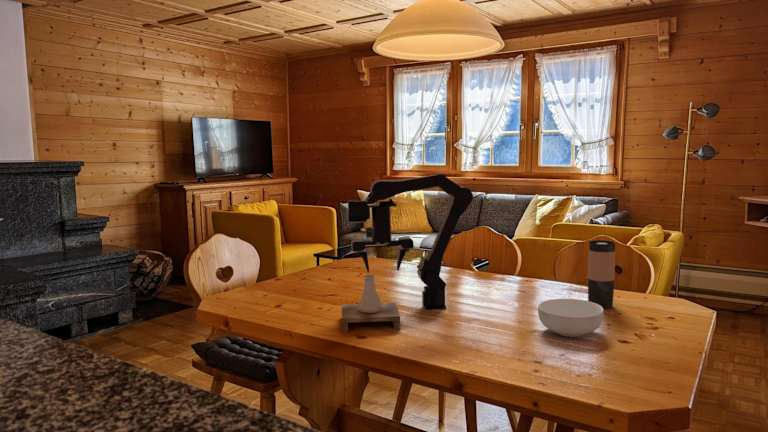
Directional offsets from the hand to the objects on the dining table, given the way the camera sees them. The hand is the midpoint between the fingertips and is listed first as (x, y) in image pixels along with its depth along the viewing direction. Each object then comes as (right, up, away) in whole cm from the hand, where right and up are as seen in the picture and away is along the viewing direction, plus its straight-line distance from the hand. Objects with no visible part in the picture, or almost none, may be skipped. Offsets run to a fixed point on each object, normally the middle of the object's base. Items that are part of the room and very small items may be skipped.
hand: (383, 271), depth 177 cm
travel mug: (+68, -11, +1) cm, 68 cm away
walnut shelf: (-4, -14, -13) cm, 19 cm away
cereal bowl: (+50, -14, -23) cm, 57 cm away
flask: (-4, -10, -14) cm, 17 cm away
